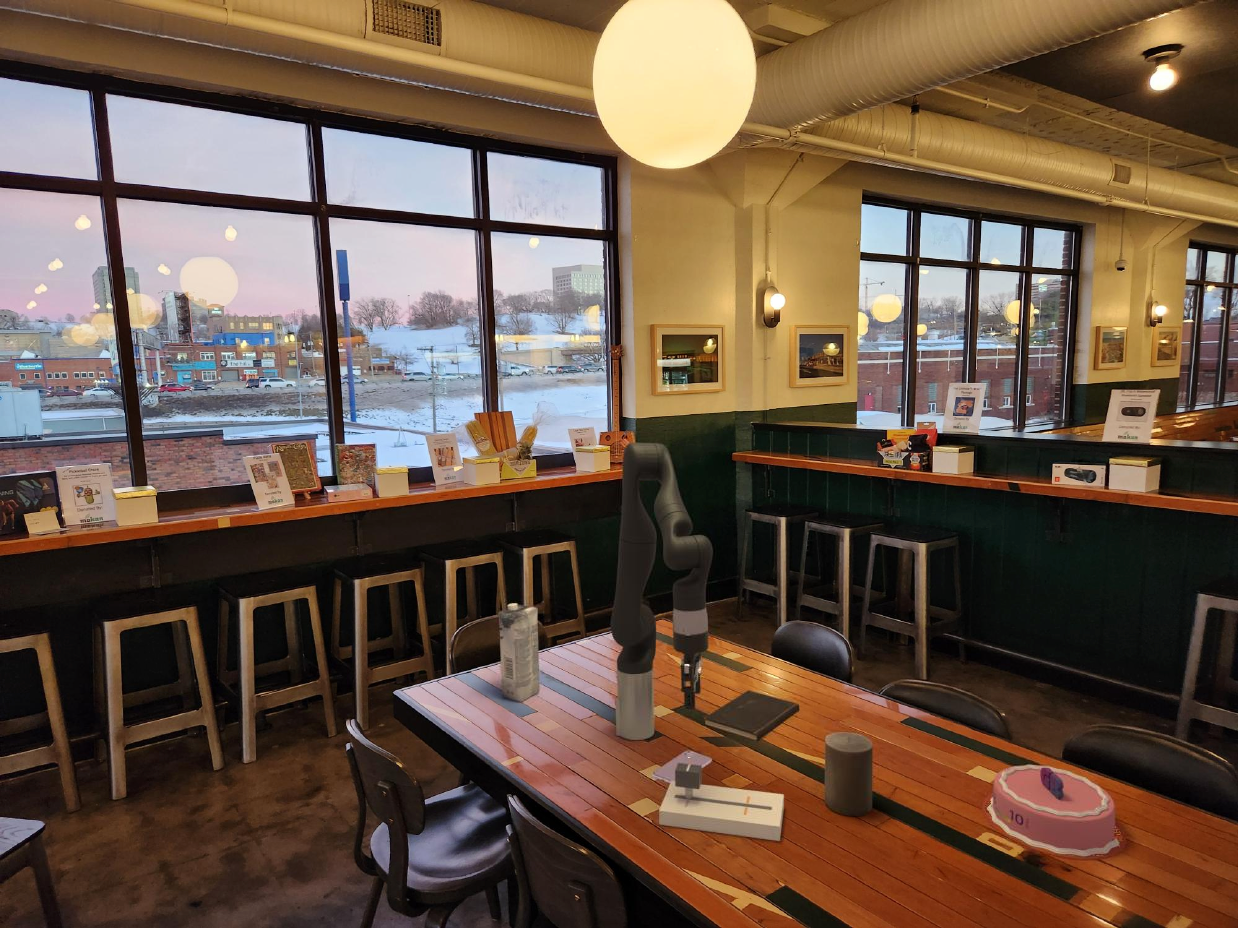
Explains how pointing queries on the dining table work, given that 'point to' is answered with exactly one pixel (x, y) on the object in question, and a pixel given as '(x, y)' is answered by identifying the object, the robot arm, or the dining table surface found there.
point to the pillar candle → (848, 773)
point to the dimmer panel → (724, 811)
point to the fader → (688, 778)
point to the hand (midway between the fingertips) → (692, 700)
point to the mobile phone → (687, 757)
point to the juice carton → (519, 652)
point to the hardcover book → (752, 715)
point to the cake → (1055, 812)
